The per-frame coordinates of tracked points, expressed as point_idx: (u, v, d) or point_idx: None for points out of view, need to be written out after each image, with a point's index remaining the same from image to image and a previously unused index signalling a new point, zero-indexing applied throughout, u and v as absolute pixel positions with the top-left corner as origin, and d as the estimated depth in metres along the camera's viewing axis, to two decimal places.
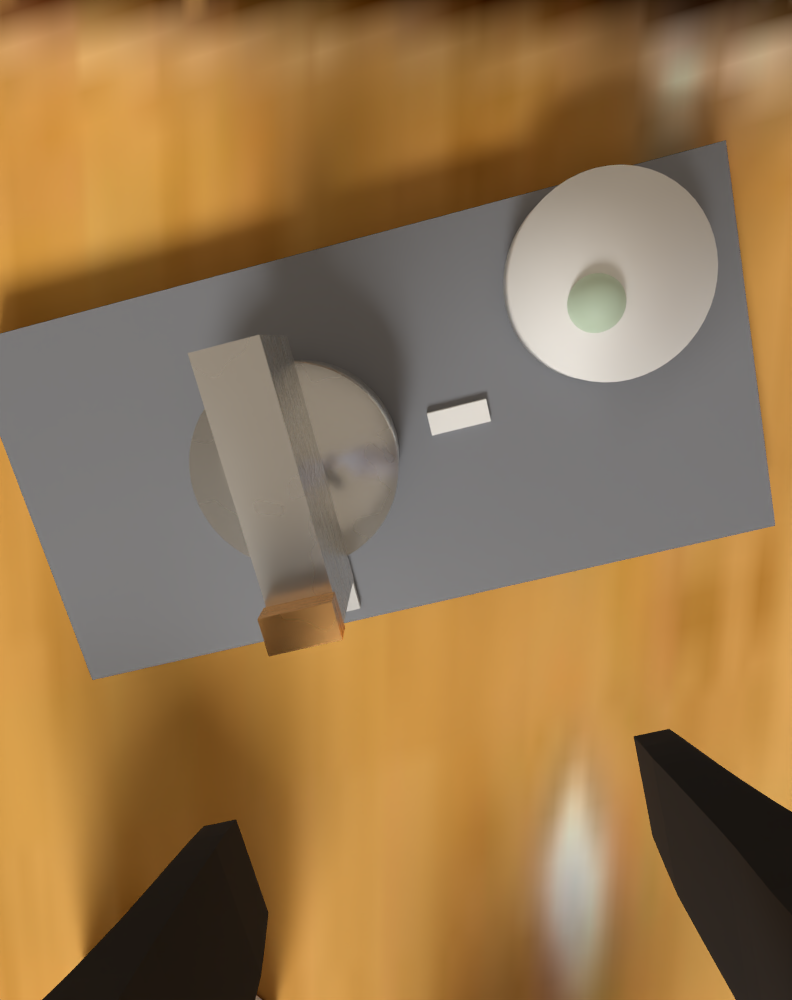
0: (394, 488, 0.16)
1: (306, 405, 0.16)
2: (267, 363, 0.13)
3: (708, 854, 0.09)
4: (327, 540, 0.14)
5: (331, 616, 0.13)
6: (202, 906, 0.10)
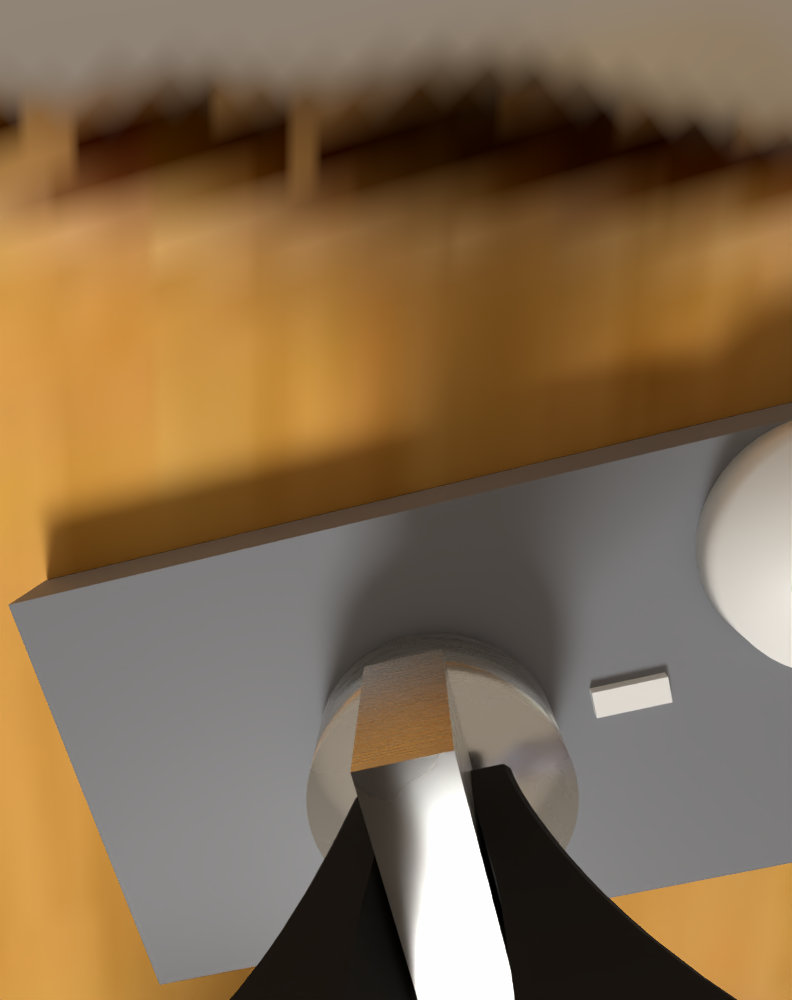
0: (571, 826, 0.13)
1: (463, 732, 0.12)
2: (463, 783, 0.09)
3: (499, 895, 0.09)
4: None
5: None
6: None
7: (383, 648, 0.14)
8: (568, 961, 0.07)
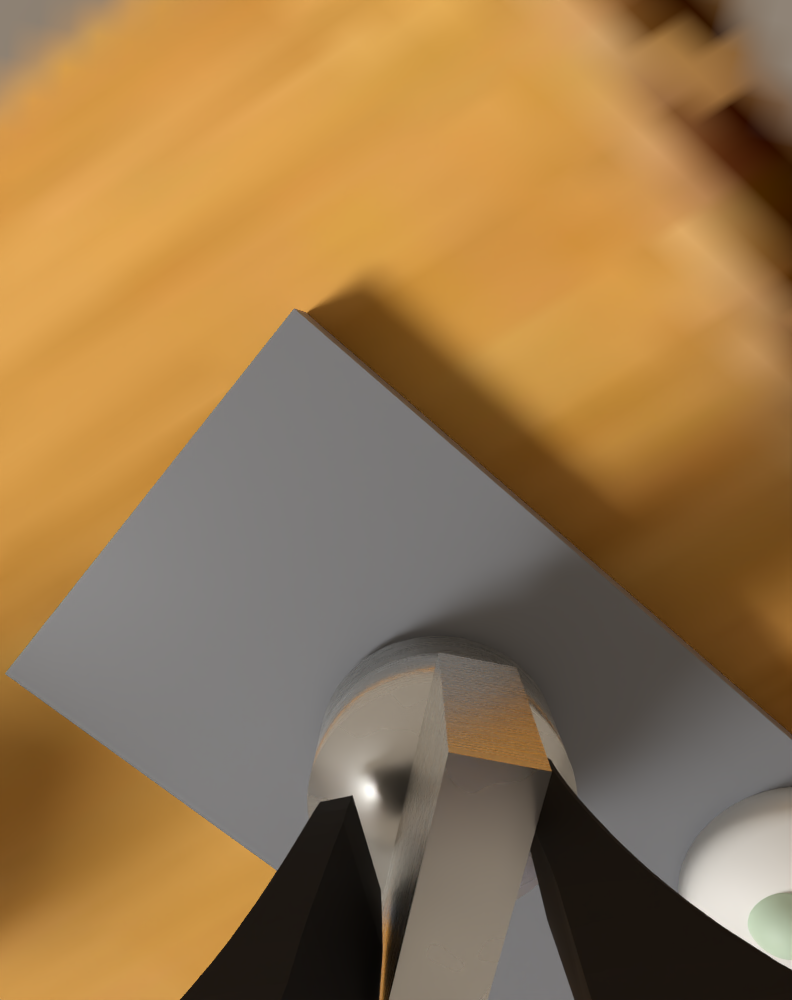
0: None
1: None
2: (541, 804, 0.09)
3: (549, 885, 0.09)
4: None
5: None
6: (338, 880, 0.10)
7: (435, 639, 0.14)
8: (637, 948, 0.07)
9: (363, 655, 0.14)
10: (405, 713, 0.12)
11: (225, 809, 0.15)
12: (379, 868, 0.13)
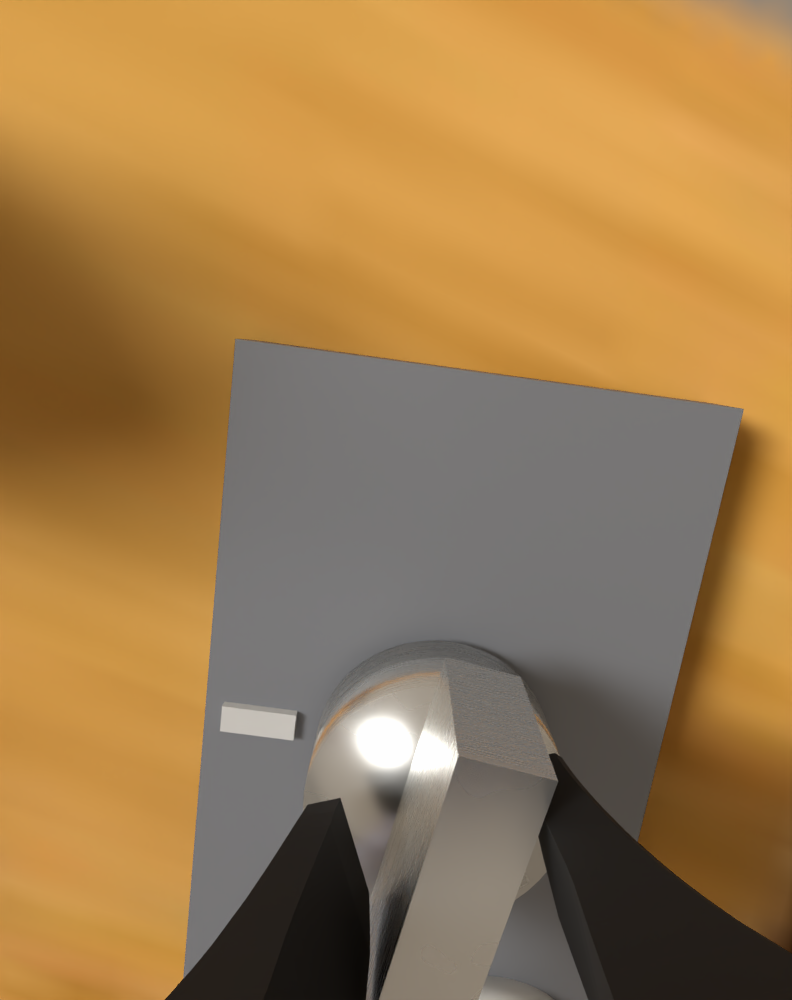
0: (532, 881, 0.13)
1: None
2: (545, 812, 0.09)
3: (563, 882, 0.09)
4: None
5: None
6: (324, 882, 0.10)
7: (438, 644, 0.14)
8: (656, 945, 0.07)
9: (468, 641, 0.14)
10: (407, 715, 0.12)
11: (236, 614, 0.14)
12: (369, 868, 0.13)
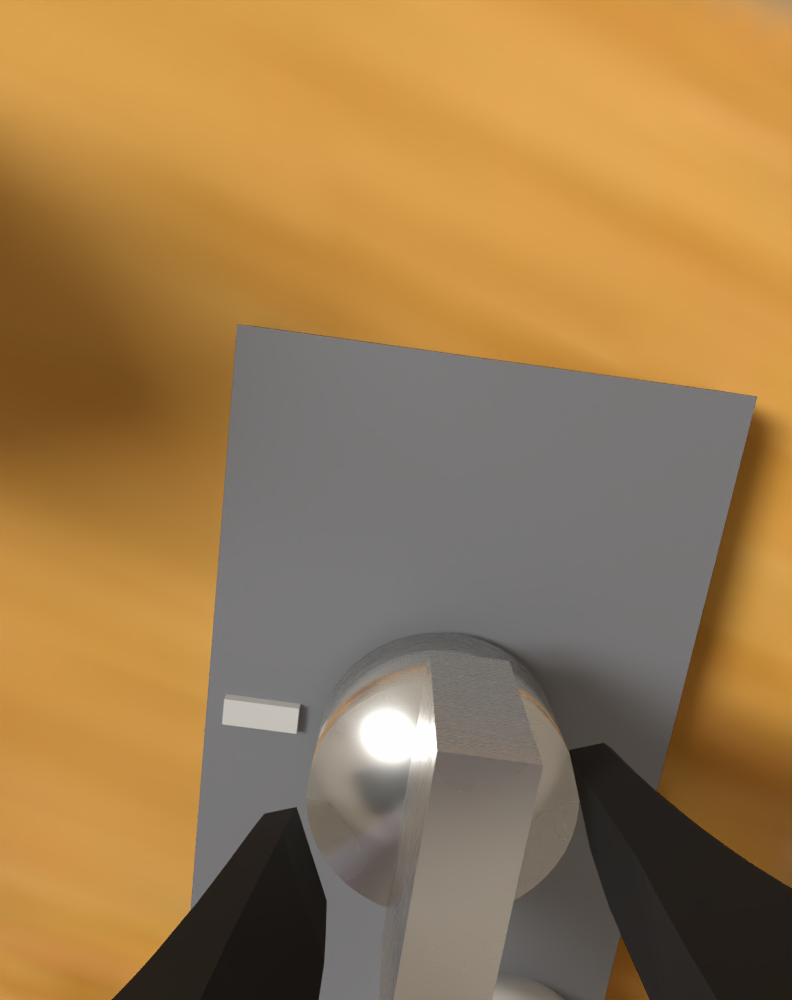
0: (550, 866, 0.13)
1: None
2: (535, 799, 0.09)
3: (625, 870, 0.09)
4: None
5: None
6: (273, 891, 0.10)
7: (429, 636, 0.14)
8: (741, 929, 0.07)
9: (474, 633, 0.14)
10: (399, 712, 0.12)
11: (238, 605, 0.14)
12: (382, 869, 0.13)
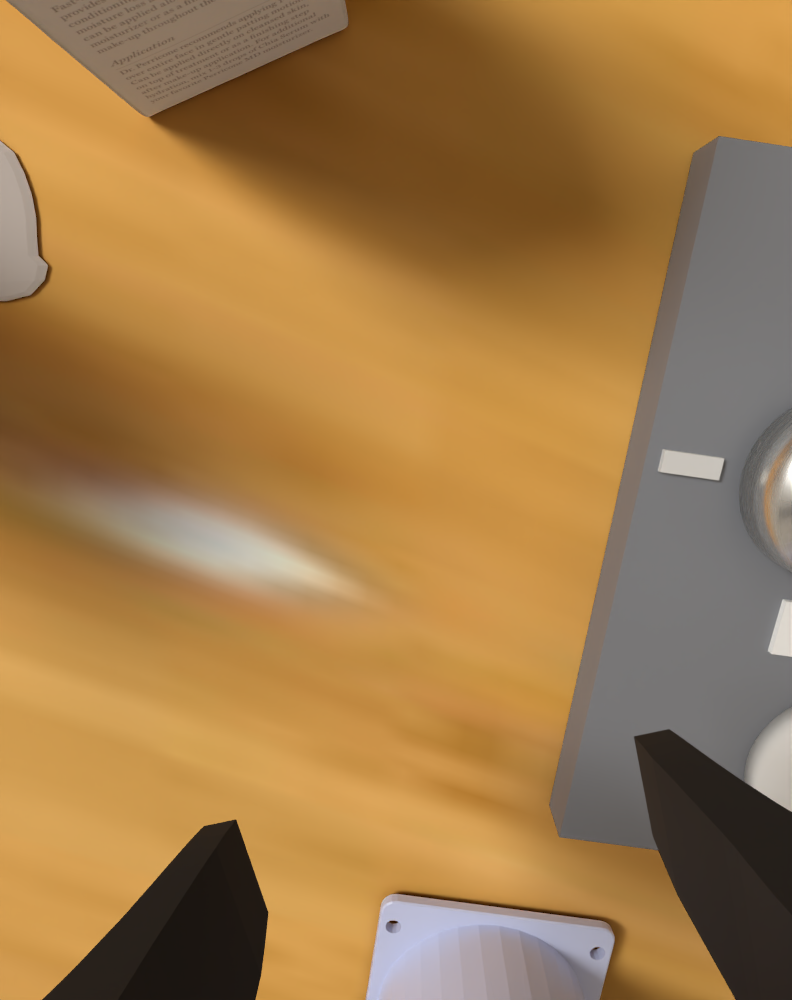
0: None
1: None
2: None
3: (708, 854, 0.09)
4: None
5: None
6: (202, 906, 0.10)
7: None
8: None
9: None
10: None
11: (684, 372, 0.18)
12: None
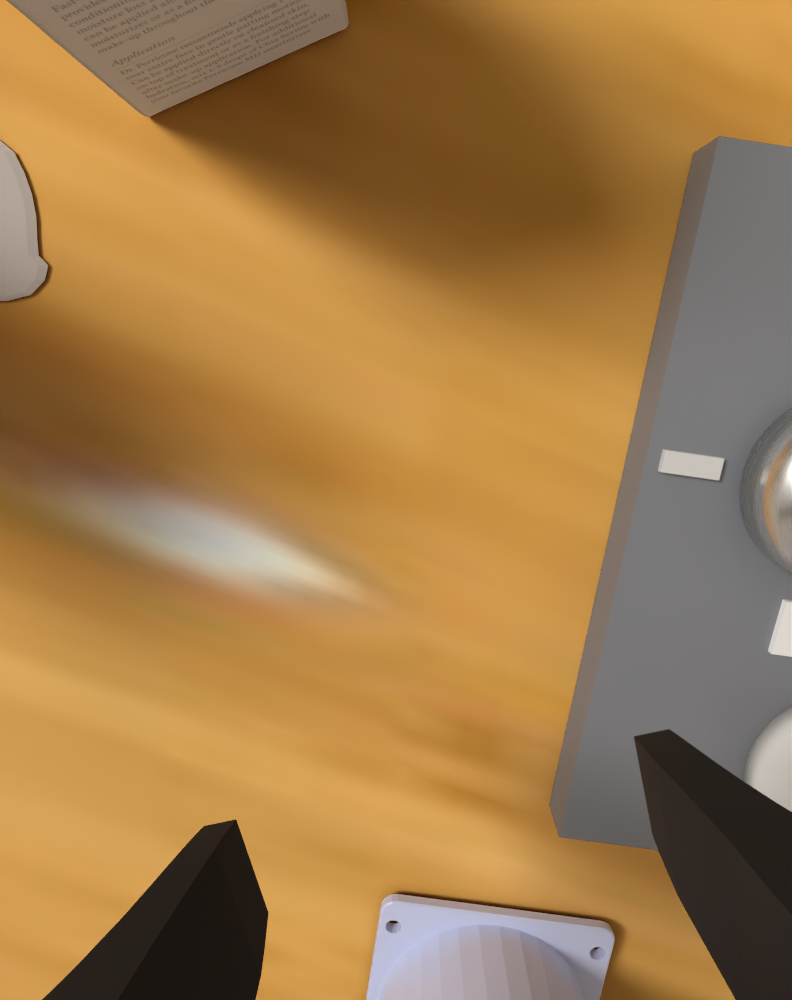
0: None
1: None
2: None
3: (708, 854, 0.09)
4: None
5: None
6: (202, 906, 0.10)
7: None
8: None
9: None
10: None
11: (683, 372, 0.18)
12: None
